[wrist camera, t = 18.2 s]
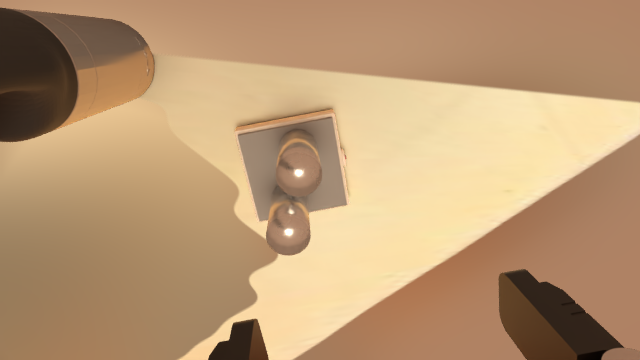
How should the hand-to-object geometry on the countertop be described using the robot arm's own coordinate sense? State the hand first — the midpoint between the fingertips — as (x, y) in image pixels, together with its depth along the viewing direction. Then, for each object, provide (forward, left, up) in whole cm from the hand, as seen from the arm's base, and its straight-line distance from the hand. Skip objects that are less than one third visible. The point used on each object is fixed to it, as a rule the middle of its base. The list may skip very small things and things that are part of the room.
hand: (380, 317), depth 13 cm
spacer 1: (-3, -3, -35) cm, 35 cm away
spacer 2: (-5, -9, -35) cm, 36 cm away
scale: (-4, -6, -38) cm, 39 cm away
